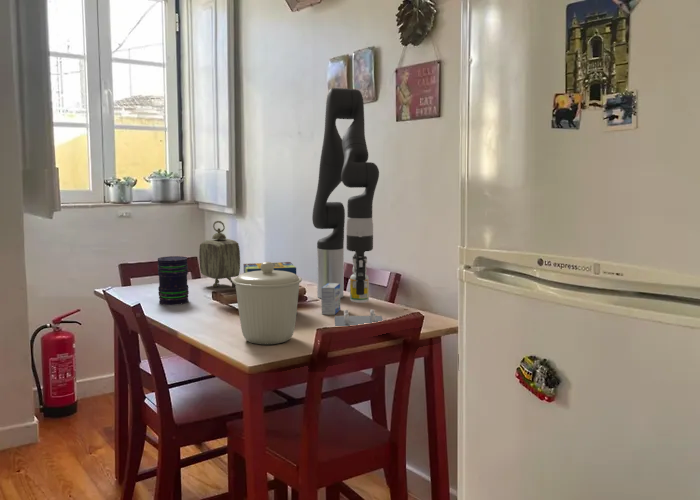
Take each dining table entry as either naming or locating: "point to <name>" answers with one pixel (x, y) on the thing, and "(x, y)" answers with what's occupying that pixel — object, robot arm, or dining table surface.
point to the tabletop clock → (219, 257)
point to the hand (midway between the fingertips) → (359, 292)
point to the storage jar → (173, 280)
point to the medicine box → (330, 298)
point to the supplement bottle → (353, 295)
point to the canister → (267, 304)
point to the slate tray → (356, 319)
